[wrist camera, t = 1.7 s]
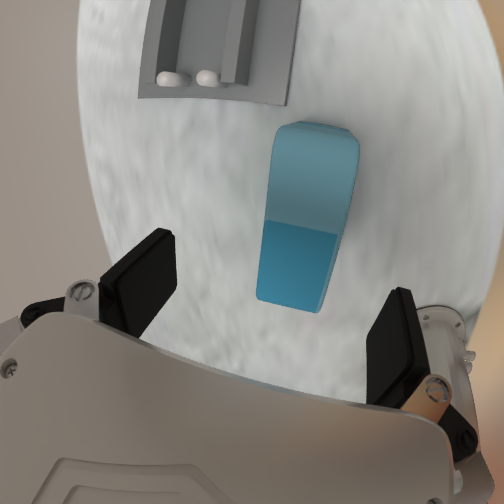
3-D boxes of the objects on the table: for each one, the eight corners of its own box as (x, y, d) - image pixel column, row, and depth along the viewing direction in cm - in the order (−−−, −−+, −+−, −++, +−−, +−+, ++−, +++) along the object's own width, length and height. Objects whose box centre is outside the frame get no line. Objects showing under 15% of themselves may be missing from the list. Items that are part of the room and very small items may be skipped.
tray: (306, -50, 12) (299, -74, 8) (285, 106, 22) (274, 104, 18) (165, -37, 15) (140, -51, 11) (143, 98, 25) (113, 100, 21)
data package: (300, 120, 23) (273, 126, 13) (349, 129, 22) (363, 143, 12) (284, 234, 29) (253, 308, 19) (326, 243, 28) (316, 323, 18)
